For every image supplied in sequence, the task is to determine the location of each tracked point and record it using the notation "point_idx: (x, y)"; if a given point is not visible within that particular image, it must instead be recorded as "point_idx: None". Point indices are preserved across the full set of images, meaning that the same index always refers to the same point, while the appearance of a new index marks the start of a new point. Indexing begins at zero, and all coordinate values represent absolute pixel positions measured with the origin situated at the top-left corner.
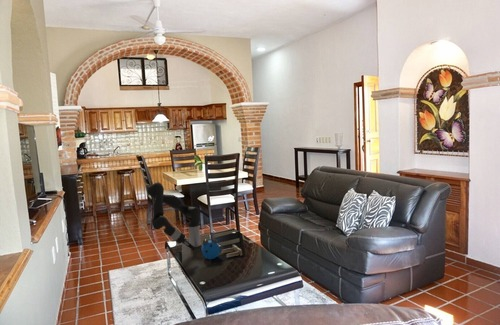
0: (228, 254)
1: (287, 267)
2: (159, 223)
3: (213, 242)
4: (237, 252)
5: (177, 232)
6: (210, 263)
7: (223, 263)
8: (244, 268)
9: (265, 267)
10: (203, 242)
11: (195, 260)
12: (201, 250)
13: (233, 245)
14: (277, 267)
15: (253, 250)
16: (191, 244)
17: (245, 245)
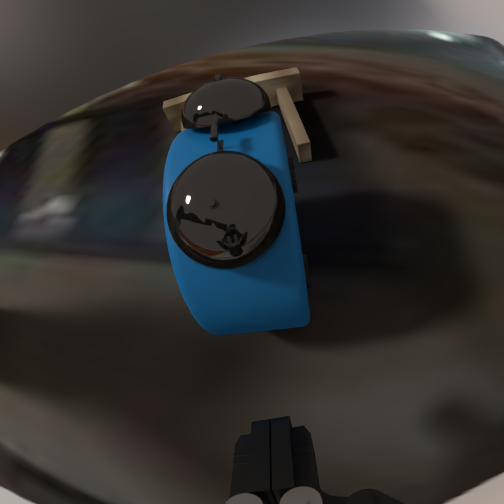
0: (306, 134)
1: (471, 36)
2: None
3: (278, 118)
4: (289, 94)
5: None
6: (399, 285)
7: (423, 191)
8: (497, 117)
9: (478, 66)
10: (253, 234)
11: None
12: (213, 332)
13: (177, 102)
14: (474, 48)
15: (250, 62)
16: (241, 499)
17: (155, 92)
